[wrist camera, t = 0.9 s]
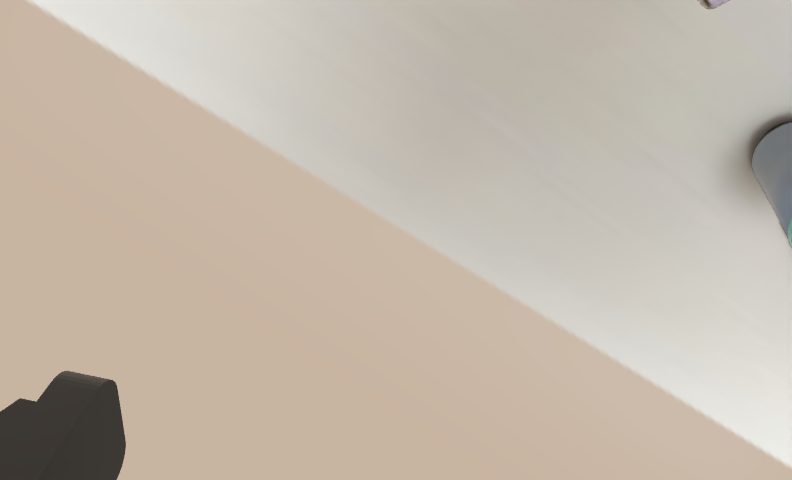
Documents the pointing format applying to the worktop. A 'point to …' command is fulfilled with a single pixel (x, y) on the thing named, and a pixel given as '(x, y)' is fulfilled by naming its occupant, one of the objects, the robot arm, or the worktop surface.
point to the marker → (776, 172)
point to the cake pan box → (711, 3)
